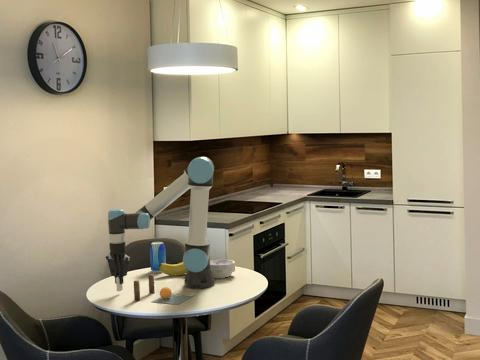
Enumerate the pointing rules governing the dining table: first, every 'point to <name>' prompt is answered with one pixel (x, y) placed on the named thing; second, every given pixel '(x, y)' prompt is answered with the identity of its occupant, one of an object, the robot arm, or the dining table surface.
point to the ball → (165, 293)
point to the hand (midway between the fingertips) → (119, 290)
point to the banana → (173, 269)
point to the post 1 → (136, 291)
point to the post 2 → (151, 283)
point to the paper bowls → (222, 268)
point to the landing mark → (173, 299)
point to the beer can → (157, 256)
